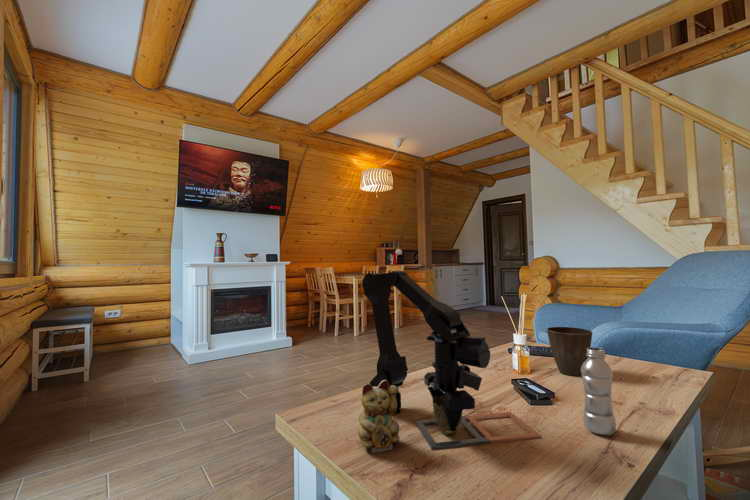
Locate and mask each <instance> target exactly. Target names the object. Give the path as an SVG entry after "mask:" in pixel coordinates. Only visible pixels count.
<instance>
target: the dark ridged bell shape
mask: <svg viewBox="0 0 750 500" xmlns="http://www.w3.org/2000/svg"><path fill="white" fill-rule="evenodd" d="M442 403H444V401H443V397H442V395H440V397H438V396H437V395H436V396H435V398H434V397H433V399H432V407H433V408H432V409H433V415H434V419H435V420H436V422H437V424H436V425H438V426H439V427H440V432H441V434H442V435H444V436H445V435H446V436H453V435H455V434H456V431H457V430H456V431H451V429H450V427H449V424H448V421H447V418H446V415H445V412H444V409H443V406H442ZM462 416H463V412H462V413H461V415H460V418H459V422H458V425H457V428H458V427H459V426H460V425H461V423H460V422H461V418H462Z"/></svg>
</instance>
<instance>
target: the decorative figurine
mask: <svg viewBox="0 0 750 500" xmlns="http://www.w3.org/2000/svg"><path fill="white" fill-rule="evenodd" d="M398 388H399V387H398ZM398 388H397V387H396V386H394V385H392V386H389V382H388V381H387V380H383V381H381V382H380V384H379V386H375V387H372V386H371V385H370V383H365V384H364V385H363V387H362V390H361V391H362V395H361V398H360V399H361V404H362V407H363V410H362V411H361V412H360V414H359V416H358V422H359V426H358V428H357V434H358V437H359V440H360V442H361V445H362V446H363V447H364V448H365V449H369V450H370V451H371V453H373V454H375V453H381V452H385V451H390V450H393V444H395V443H397V442H400V440H401V439H400V436H399V433H400V424H399V422H398V421H397V420H394V419H392V416H393V415H394V413H395V412H396V410H397V400H396V396H395V394H397V393H398V392H400V388H399V389H398Z"/></svg>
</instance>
